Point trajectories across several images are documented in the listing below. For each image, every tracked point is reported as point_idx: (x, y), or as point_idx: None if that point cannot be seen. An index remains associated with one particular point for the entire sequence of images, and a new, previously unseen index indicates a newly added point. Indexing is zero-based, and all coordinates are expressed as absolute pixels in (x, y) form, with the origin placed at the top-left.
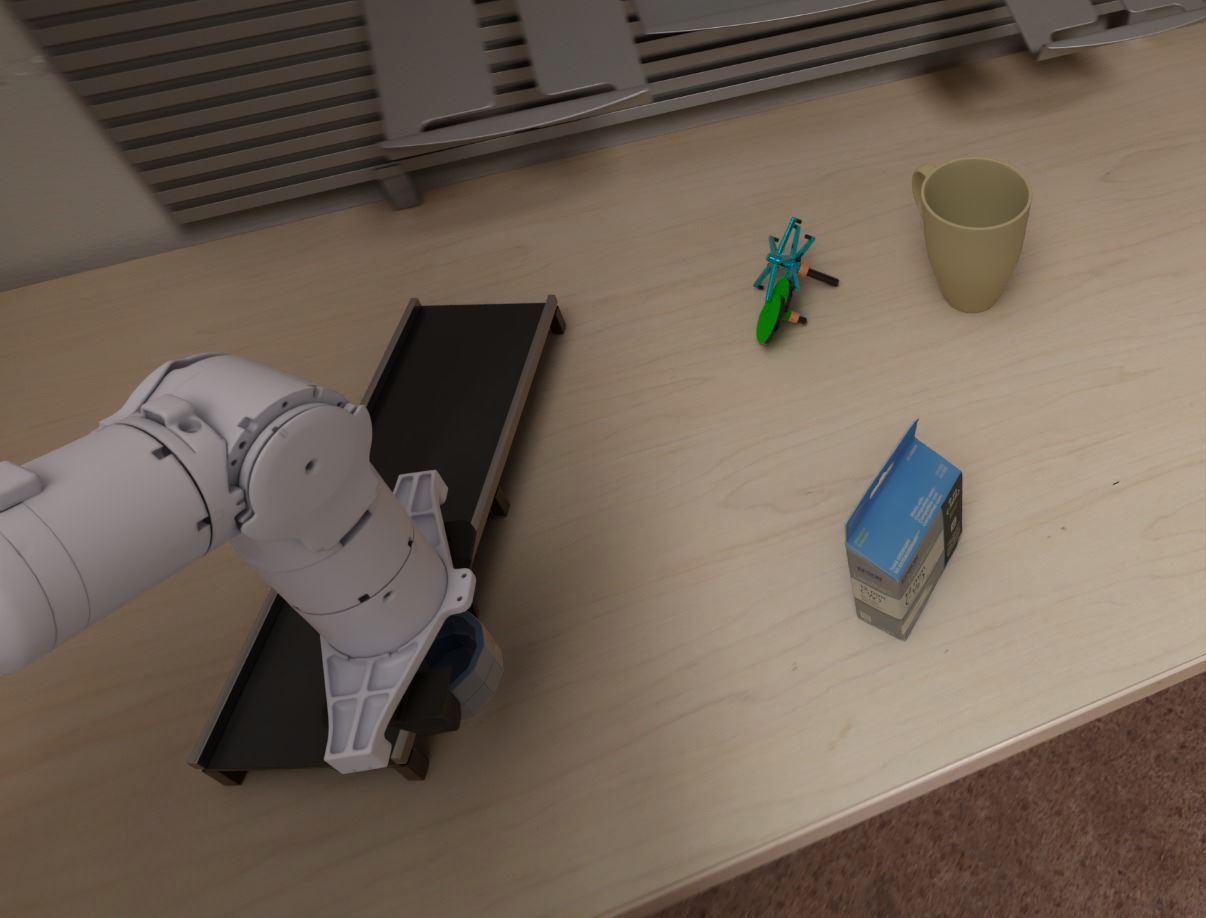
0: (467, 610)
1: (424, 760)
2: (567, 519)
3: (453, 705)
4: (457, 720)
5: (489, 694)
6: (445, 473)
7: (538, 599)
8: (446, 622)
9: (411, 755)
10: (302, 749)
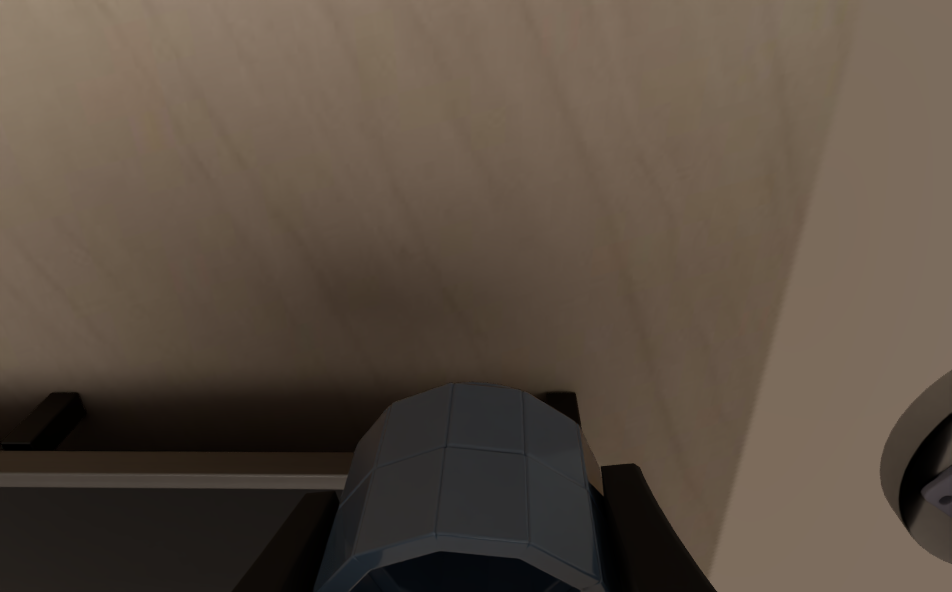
0: None
1: (551, 406)
2: (40, 278)
3: (652, 567)
4: (652, 503)
5: (529, 407)
6: (14, 539)
7: (229, 292)
8: None
9: None
10: None
